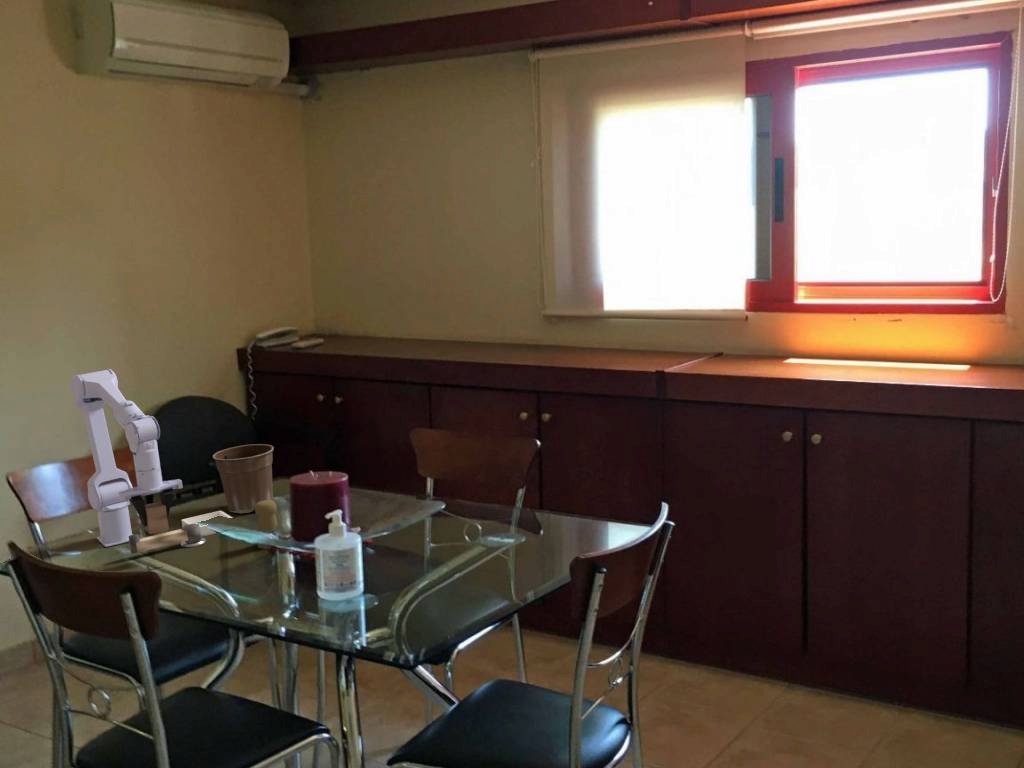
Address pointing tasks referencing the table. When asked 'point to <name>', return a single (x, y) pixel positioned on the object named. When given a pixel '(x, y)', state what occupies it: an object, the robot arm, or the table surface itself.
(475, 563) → the table surface
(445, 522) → the table surface
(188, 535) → the crank
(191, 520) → the tray
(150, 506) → the block
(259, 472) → the plant pot
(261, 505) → the cork
